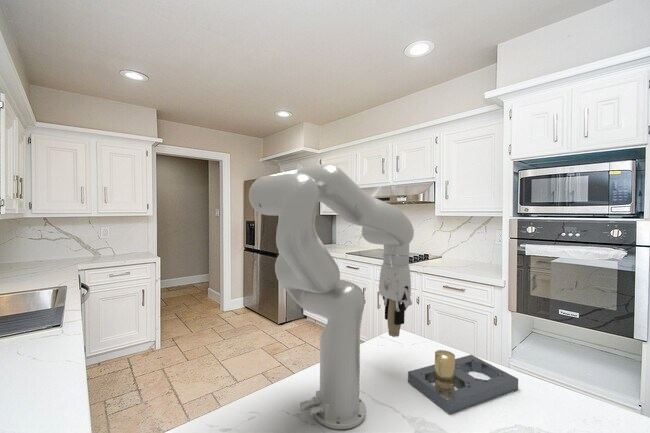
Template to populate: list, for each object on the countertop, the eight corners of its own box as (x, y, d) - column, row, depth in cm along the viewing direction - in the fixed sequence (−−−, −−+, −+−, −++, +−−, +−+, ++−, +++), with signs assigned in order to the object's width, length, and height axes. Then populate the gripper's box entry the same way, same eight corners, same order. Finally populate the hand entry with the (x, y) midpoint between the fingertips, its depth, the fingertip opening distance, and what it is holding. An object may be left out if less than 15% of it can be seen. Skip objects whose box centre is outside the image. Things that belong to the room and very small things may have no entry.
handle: (404, 339, 88) (406, 287, 88) (382, 336, 89) (383, 286, 90) (405, 333, 92) (406, 284, 93) (383, 331, 94) (385, 282, 94)
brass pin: (444, 398, 78) (445, 360, 78) (430, 388, 83) (430, 352, 82) (458, 394, 80) (459, 356, 80) (444, 384, 85) (444, 348, 84)
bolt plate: (449, 414, 72) (449, 402, 72) (408, 381, 86) (408, 371, 86) (518, 389, 82) (518, 378, 82) (471, 364, 96) (471, 354, 96)
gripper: (370, 257, 97) (368, 314, 97) (404, 265, 82) (402, 333, 82) (389, 256, 100) (387, 312, 100) (425, 264, 85) (423, 329, 85)
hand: (394, 320), depth 91 cm, fingers closed on handle, 4 cm apart
